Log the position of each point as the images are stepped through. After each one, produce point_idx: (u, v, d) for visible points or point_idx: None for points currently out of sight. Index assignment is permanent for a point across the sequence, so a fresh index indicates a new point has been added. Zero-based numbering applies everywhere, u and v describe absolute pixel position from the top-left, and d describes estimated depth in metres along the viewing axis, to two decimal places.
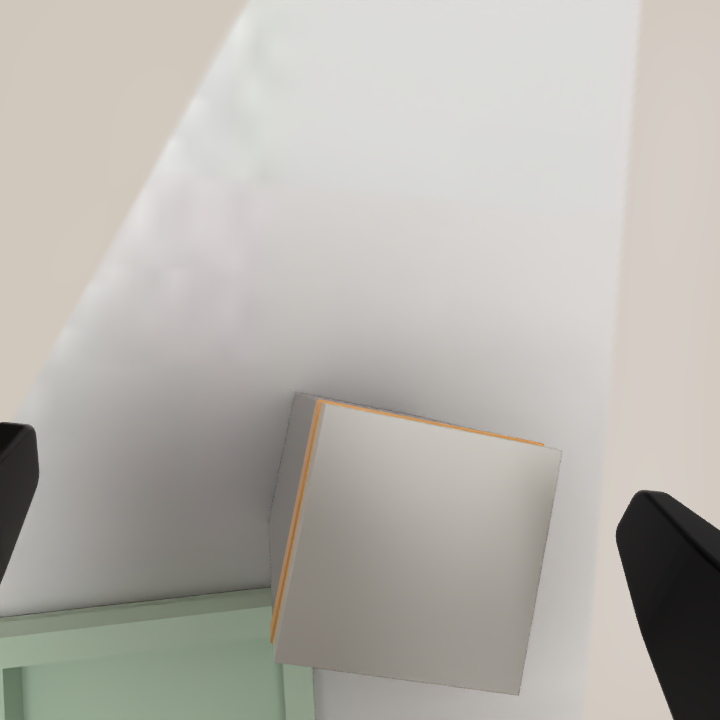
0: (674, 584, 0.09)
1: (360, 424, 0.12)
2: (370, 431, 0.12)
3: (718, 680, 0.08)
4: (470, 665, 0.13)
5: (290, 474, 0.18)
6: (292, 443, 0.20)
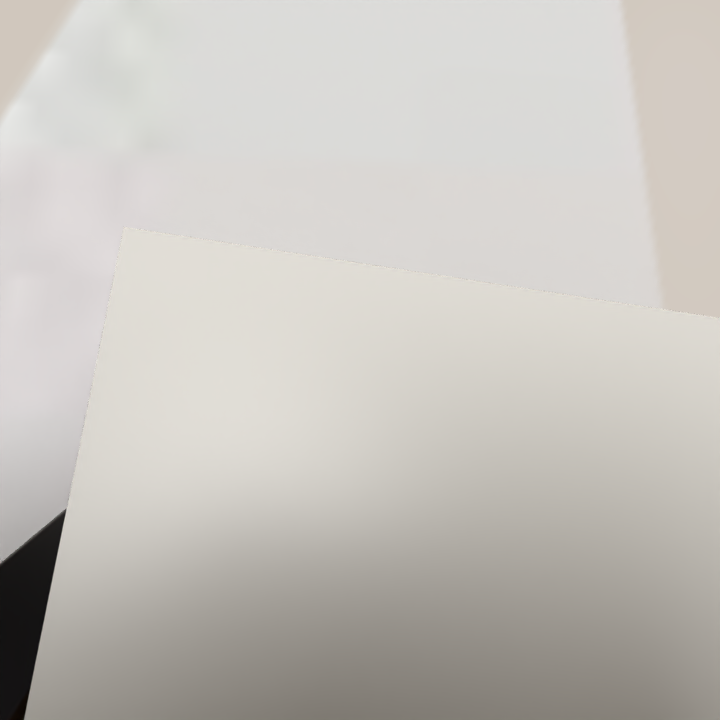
0: None
1: (232, 277, 0.04)
2: (265, 298, 0.04)
3: None
4: None
5: None
6: None
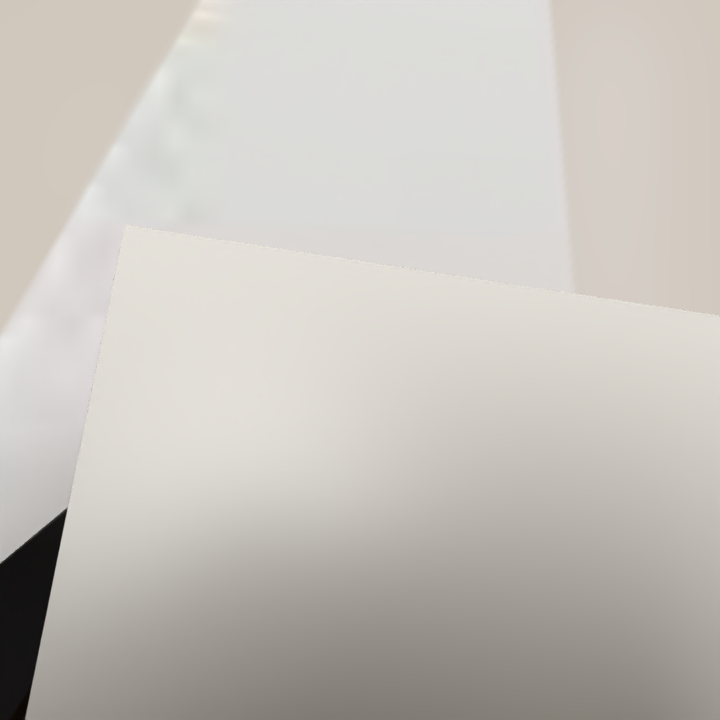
0: None
1: (233, 275, 0.04)
2: (266, 296, 0.04)
3: None
4: None
5: None
6: None
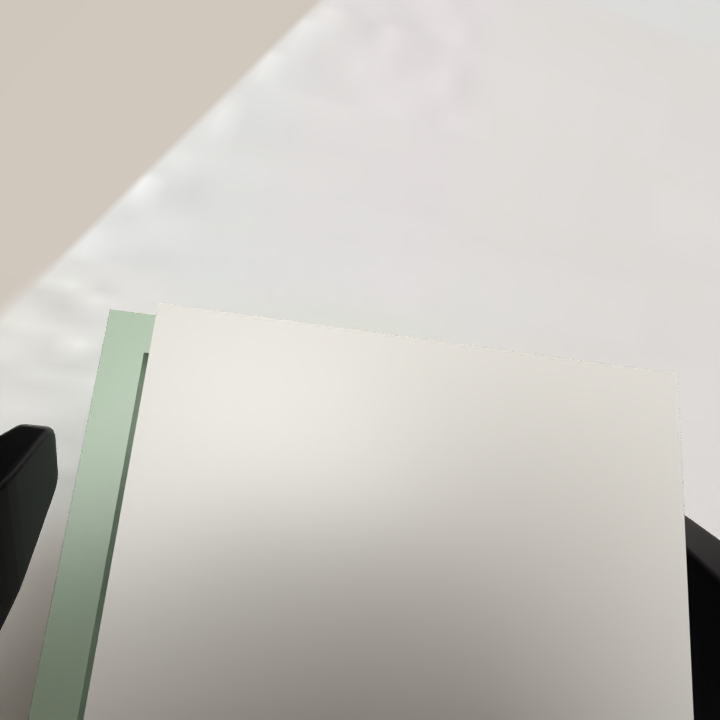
0: None
1: (239, 341, 0.05)
2: (264, 356, 0.06)
3: (700, 679, 0.08)
4: None
5: None
6: None
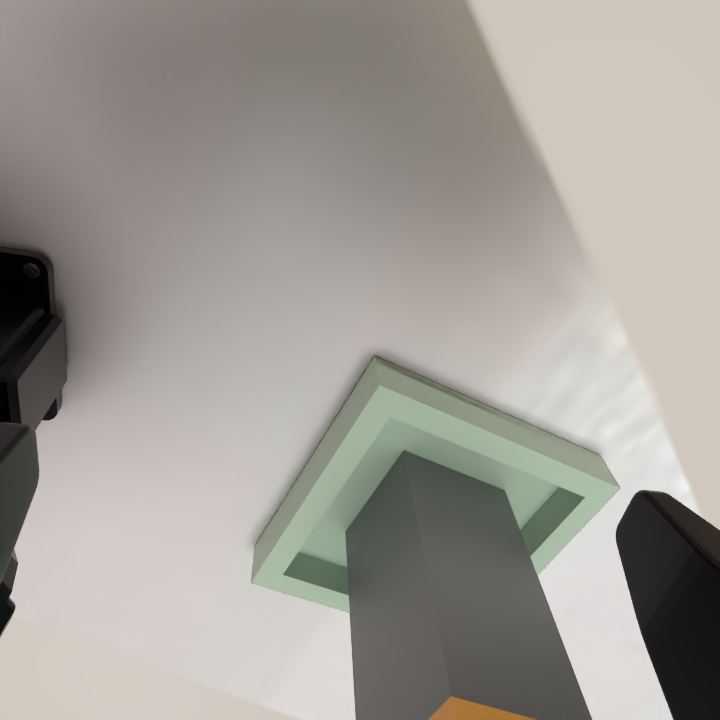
0: (674, 584, 0.09)
1: None
2: None
3: (718, 680, 0.08)
4: None
5: (499, 601, 0.20)
6: (503, 564, 0.22)
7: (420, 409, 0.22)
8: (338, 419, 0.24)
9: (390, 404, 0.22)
